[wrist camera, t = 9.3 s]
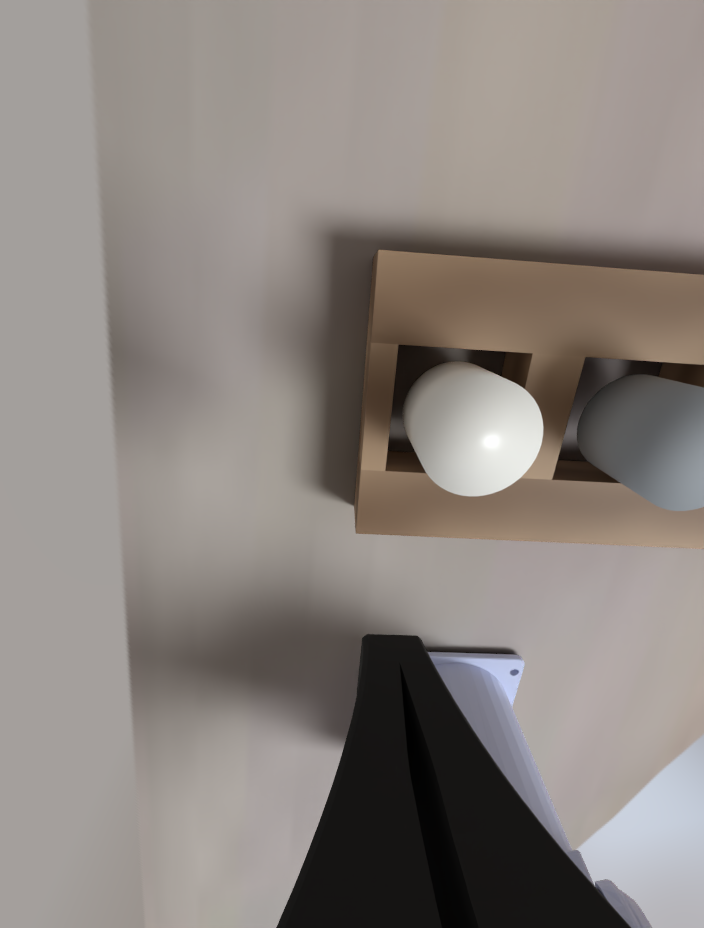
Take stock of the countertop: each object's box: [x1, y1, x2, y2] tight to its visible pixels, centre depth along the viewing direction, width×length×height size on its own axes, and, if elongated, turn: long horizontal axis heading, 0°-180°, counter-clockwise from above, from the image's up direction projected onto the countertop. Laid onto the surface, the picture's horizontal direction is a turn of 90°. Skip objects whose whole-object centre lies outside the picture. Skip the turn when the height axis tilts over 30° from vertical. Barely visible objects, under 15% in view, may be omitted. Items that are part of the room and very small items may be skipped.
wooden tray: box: [354, 250, 704, 549], centre depth 17 cm, size 11×21×2 cm, turn 86°
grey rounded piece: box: [577, 374, 704, 511], centre depth 15 cm, size 4×4×4 cm
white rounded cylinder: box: [402, 361, 543, 496], centre depth 15 cm, size 4×4×4 cm
